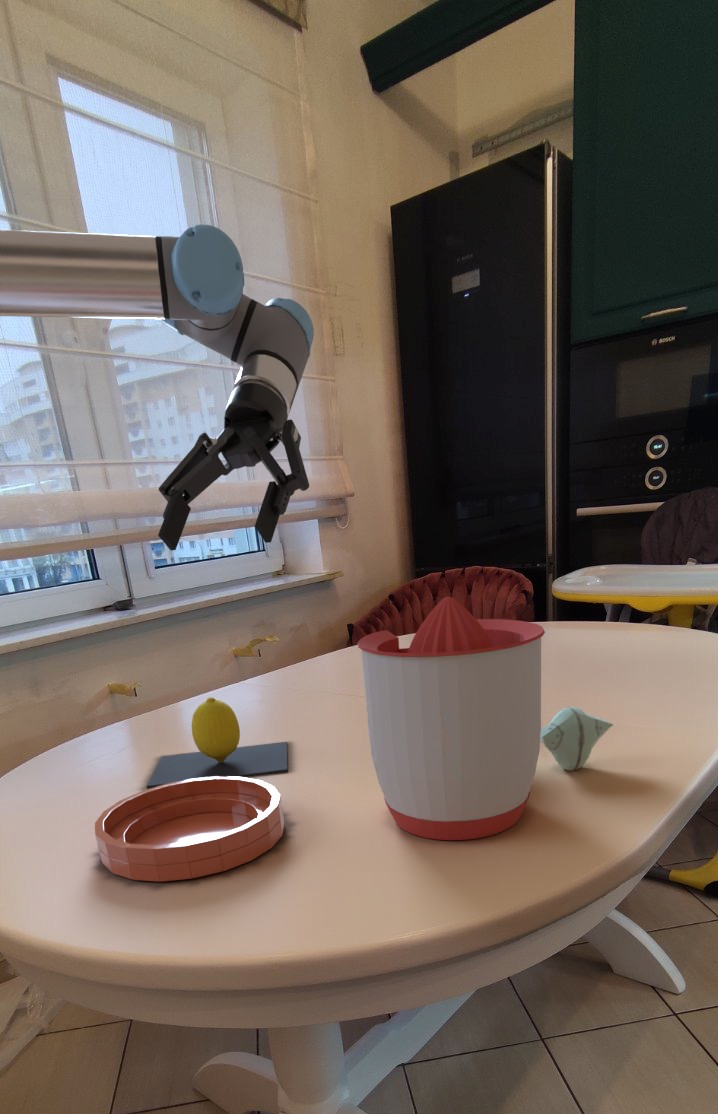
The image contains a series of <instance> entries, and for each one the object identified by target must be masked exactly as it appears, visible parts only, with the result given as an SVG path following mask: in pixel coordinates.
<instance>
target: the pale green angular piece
mask: <svg viewBox="0 0 718 1114" xmlns="http://www.w3.org/2000/svg"><path fill="white" fill-rule="evenodd" d="M613 726H614V724H613V723H612V722H609V721H607V720H605V719H604V718H602V717H598V716H597V717H596V716H593V715H591V714H589V713H586V712H585V711H584V710H583V709H581V708H579V707H576V706H567V707H565V708H562V709H560V710H558V711H557V713H556V714H555V715H554V716H553V718H552V719H551V721H550V722H549V723H548V724H547V725H546V726H544V727H541V734H540V742H541V743H542V744H543V746H544V747H545V748H546V749H547V750H548V751H549V752H550V753H551V755H552V756H553V758H554V760H555V761H556V763H557V764H558V765H559V767H560V768H561V769H563V770H566V771H576V770H579V769H581V768H582V767H584V765H585V764H586V762H587V761H588V760H589V758H590V756H591V752H592V750H593V748H594V747H595V745H596V744H597V742H598V741H599V740H600V738H602V737H603V736H604V735H605V734H606V733H607V732H608V731H609V730H610V729H611V728H612V727H613Z"/></svg>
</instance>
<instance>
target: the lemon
mask: <svg viewBox="0 0 718 1114" xmlns="http://www.w3.org/2000/svg"><path fill="white" fill-rule="evenodd" d="M240 732H241V730H240V725H239V721H238V718H237V715H236V713H235V712H234V710H233V708H232V707H231V706H230V705H229V704H227V703H226V702H224V701H223V700H219V699H216V698H215V697H212V696H211V697H207V699H206V700H205V701H203V702H202V703H200V704H199V705H198V706H197V707H196V709H195V710H194V712H193V715H192V718H191V734H192V739H193V742H194V744H195V746H196V748H197V749H198V750H199V752H202V753H203V754H204V755H205V756H207V757H210V758H214V759H215V760H217V761H218V762H224V760H225V759H226V757H227V756H229V755H230V754H232V753H233V752H234V751H235V749H236V748H238V747H239V746H238V745H239V743H240V738H241V733H240Z"/></svg>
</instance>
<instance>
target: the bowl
mask: <svg viewBox="0 0 718 1114" xmlns="http://www.w3.org/2000/svg"><path fill="white" fill-rule="evenodd" d="M284 817H285V816H284V812H283V803H282V796H281V793H280V792H279V790H277V788H276V787H275V786H274V785H272V784H270V783H268V782H265V781H264V780H261V779H255V778H250V777H225V776H215V777H205V778H194V779H188V780H183V781H178V782H173V783H168V784H164V785H160V786H157V787H154V788H148V789H147V788H146V789H143V790H141V791H139V792H137V793H134V794H131V795H130V796H127V797H126V798H123V799H120V800H118V801H117V802H116V803H114V804H113V805H111V806H110V807H108V808H107V809H105V810H103V812H102V813H101V814H100V815H99V817H98V818H97V819H96V821H95V822H94V836H95V840H96V842H97V844H96V845H97V847H98V853H99V855H100V860H101V863H102V865H103V866H104V867H106V868H107V869H108V870H109V872H111V873H112V874H114V875H117V876H119V877H124V878H126V879H130V880H132V881H133V880H134V881H146V882H169V881H170V882H171V881H180V880H189V879H190V880H192V879H196V878H200V877H204V876H209V875H213V874H217V873H221V872H225V871H228V870H231V869H233V868H236V867H239V866H241V865H244V864H246V863H249V862H251V861H254V859H257V858H258V857H260V856H261V855H263V854H265V853H266V852H267V851H269V850H271V849H272V848H273V847H274V846H275V844H276V843H277V842H278V841H279V840H280V839H281V838H282V837H283V834H284V829H285V818H284Z"/></svg>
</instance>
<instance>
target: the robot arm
mask: <svg viewBox="0 0 718 1114" xmlns="http://www.w3.org/2000/svg"><path fill="white" fill-rule="evenodd" d="M244 287H245V273H244V266H243V260H242V257H241V253H240V251H239V249H238V247H237V246H236V244H235V242H234V240H233V239H232V238H231V237H230V236H229V235H228V234H227V233H226V232H225V231H223V230H222V229H220V228H219V227H216V226H214V225H210V224H203V223H202V224H197V225H196V224H195V225H193V226H190V227H188V228H187V229H186V230H184V231H183V232H182V233H181V234H180V235H179V236H172V235H163V236H160V235H158V236H157V235H156V236H154V235H153V236H152V235H131V234H130V235H128V234H110V233H109V234H108V233H84V232H62V231H37V230H16V229H12V230H11V229H0V317H29V318H31V317H32V318H86V319H87V318H88V319H89V318H91V319H149V320H150V319H151V320H153V319H154V320H160V321H161V322H162V323H164V324H166V326H169V327H170V328H172V329H173V330H175V331H176V332H177V333H178V334H179V335H181V336H185V337H187V338H189V339H191V340H192V341H194V342H197V343H199V344H201V345H202V346H204V347H206V348H208V349H210V350H212V351H214V352H216V353H217V354H219V355H221V356H223V357H225V358H227V359H229V360H230V361H232V362H233V363H235V364H237V365H239V366H240V370H239V372H238V374H237V377H236V380H235V382H234V384H233V388H232V392H231V393H230V396H229V399H228V402H227V405H226V408H225V410H224V415H223V421H224V422H223V423H224V424H223V430H222V431H221V432H220V434H219V435H218V436H217V437H210V436H209V435H208V433H207V432H202V433H201V434H199V436H198V437H197V440H196V441H195V444H194V446H193V447H192V448H191V449H190V450H189V452H188V453H187V454H186V455H185V456H184V457H183V459H181V461H180V462H179V463H178V464H177V466H176V467H175V468H174V469H173V470H172V472H171V473H170V474H168V476H167V477H166V478H165V480H163V482H162V483H161V484H160V485H159V487H158V492H160V494H161V495H162V497H163V498H164V499H165V500H166V502H167V504H166V506H165V508H164V510H163V514H162V519H163V521H162V524H161V526H160V529H159V532H158V534H157V536H158V537H159V539H160V540H161V541H162V542H163V543H164V544H165V546H166V547H167V548H168V549H169V550H170V551H176V550H177V547H178V545H179V542H180V539H181V537H182V534H183V531H184V528H185V526H186V523H187V521H188V518H189V515H190V513H191V510H192V507H190V505H189V504H190V503H192V502H193V501H194V500H195V499H196V498H197V497H199V495H201V494H202V493H203V492H204V491H205V490H206V489H207V488H209V487H210V486H211V485H212V484H213V483H214V482H215V481H217V480H218V479H219V478H220V477H222V476H224V477H225V476H228V475H229V474H230V473H231V472H232V471H233V470H237V469H238V470H239V469H242V468H245V467H247V468H252V467H253V468H254V467H256V465H258V464H259V463H262V464H263V466H264V467H265V469H266V470H267V471H268V472H269V474H270V475H271V477H272V478H273V480H271V481H268V485H267V488H266V491H265V494H264V496H263V500H262V503H261V505H260V509H259V512H258V515H257V518H256V521H255V523H254V528H255V529H256V531H257V532H258V534H259V535H260V537H261V538H262V540H263V542H264V543H265V544H268V543H272V541H273V537H274V535H275V532H276V528H277V525H278V522H279V518H280V517H281V516H283V515H284V514H285V513H286V511H287V508H288V505H289V502H290V500H291V497H292V496H293V495H294V494H295V492H296V491H297V490H298V491H299V490H300V491H301V492H305V491H307V490H308V489H309V488H310V482H309V478H308V475H307V471H306V468H305V465H304V461H303V457H302V453H301V450H300V446H301V441H302V436H301V434H300V432H299V431H298V429H297V426H296V424H295V423H294V420H293V419H291V418H290V419H288V417H289V415H290V413H291V410H292V407H293V404H294V401H295V398H296V395H297V392H298V389H299V386H300V383H301V381H302V377H303V375H304V372H305V369H306V366H307V364H308V361H309V358H310V356H311V348H312V345H313V340H314V337H315V335H314V334H315V332H314V325H313V321H312V318H311V315H310V314H309V313H308V311H307V310H306V308H305V307H304V306H302V305H301V304H300V303H299V302H298V301H296V300H293V299H292V298H282V297H275V298H272V299H270V300H269V301H268V302H267V303H266V304H265V305H264V304H262V303H261V302H259V301H257V300H255V299H254V298H251V297H249V296H248V295H247V294H244ZM280 443H281V444H282V445H283V446H284V450H285V454H286V458H287V462H288V466H289V470H290V473H289V474H286V472H285V470H284V469H283V468H282V467H281V465H279V463H278V461H277V460H276V459H275V457H274V456H273V455H272V453H271V452H272V451H274V449H276V448H277V447H278V445H279V444H280ZM220 454H221V455H222V457H223V459H224V460H225V462H226V463H225V464H224V463H223V461H222V460H221V458H220Z"/></svg>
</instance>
